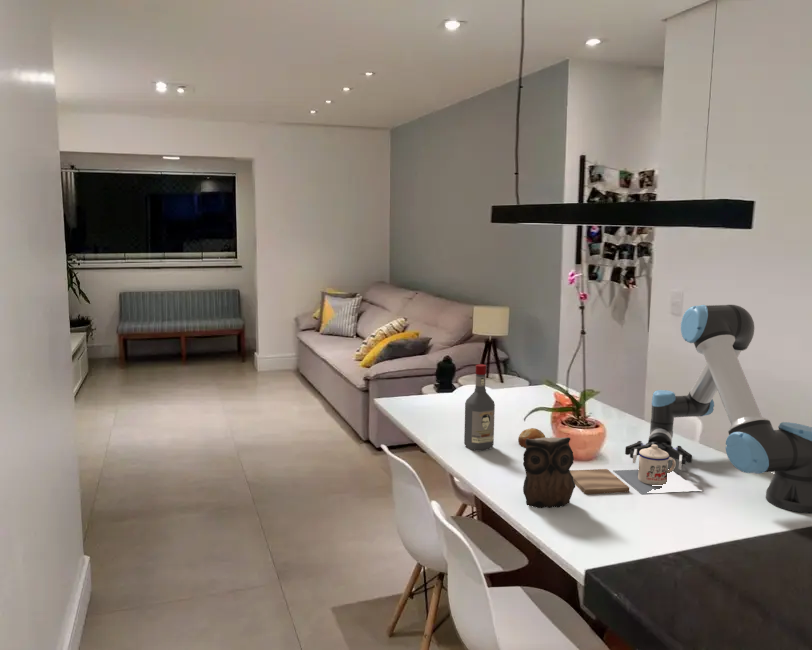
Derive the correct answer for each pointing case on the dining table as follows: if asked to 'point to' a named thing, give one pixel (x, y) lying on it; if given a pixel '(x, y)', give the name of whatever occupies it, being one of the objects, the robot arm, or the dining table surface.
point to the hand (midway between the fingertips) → (656, 462)
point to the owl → (548, 472)
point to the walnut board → (598, 481)
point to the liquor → (479, 415)
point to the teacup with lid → (654, 465)
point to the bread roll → (529, 435)
